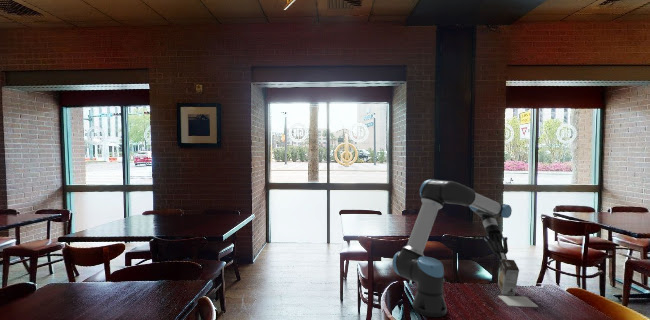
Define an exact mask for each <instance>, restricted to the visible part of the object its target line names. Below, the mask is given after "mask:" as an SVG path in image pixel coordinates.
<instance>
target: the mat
mask: <svg viewBox="0 0 650 320" xmlns="http://www.w3.org/2000/svg"><path fill="white" fill-rule="evenodd" d="M497 297H498V298H499V299H500V300H501V301H502V302H503V303H505V304H506V306H508V307H519V308H521V307H523V308H525V307H526V308H539V306H538V305H537V304H536V303H535V302H533V301H532V300H531V299H530V298H528V297H527V296H524V295H523V296H521V295H520V296H518V295H515V296H511V295H497Z"/></svg>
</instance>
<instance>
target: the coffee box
mask: <svg viewBox="0 0 650 320" xmlns="http://www.w3.org/2000/svg"><path fill="white" fill-rule="evenodd" d="M519 273H520V268H519V267H518V265H517V263H516V261H515V260H514V259H508V258H507V259H501V260H500V268H499V273H498V274H499V275H498V280H497V285H498V287H499V290H500V292H501V296H516V291H517V290H516V289H517V283H518V280H519V279H518V277H519Z"/></svg>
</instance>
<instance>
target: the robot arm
mask: <svg viewBox="0 0 650 320" xmlns="http://www.w3.org/2000/svg"><path fill="white" fill-rule="evenodd" d="M419 196H420V198H421V199H420V201H421V203H422V204H421V206H420V209H419V212H418V214H417V217H416V220H415V222H414V225H413V228H412V230H411V233H410V236H409V238H408V241H407V243H406V245H405V246H402V249H401V251H397V252H396V253H395V254H394V255H393V258H392V267H393V271H394V272H395V273H396V274H397V275H399V276H400V278H401V277H402V278H405V279H407V280H408V281H411V282H414V283H416V293H415V297H414V298H413V302H412V308H413V311H415V312H416V313H418V314H419V315H422V316H424V317H428V318H429V317H430V318H441V317H445V316H446V315H447V311H448V308H447V305H446V301H445V297H444V277H445V276H444V275H445V272H444V264H443V263H442V262H441V260H438V259H437V258H435V257H429V256H425V255H424V251H425V248H426V245H427V242H428V240H429V236H430V235H431V232H432V228H433V226H434V223H435V221H436V218H437V216H438V212H439V210H441V209H442V208H443V207H444V204H450V205H460V206H464V207H469V209H470V210H471V211H473V212H474V213H475V214H476V215H477V216H479V217H480V219H481V222H482V225H483V228H484V230H485V234H486V236H484V238H483V241H484V242H485V243H486V244H487V246H488V248H489V249H490V250H491V252H492V254H494V255H495V256H497V258H498V260H499V261H501V259H508V257H507V254H508V252H509V248H508V247H509V246H508V239H509V238H508V237H507V236H503V234H502V233H501V230H500V226H499V224H498V222H497V219H496V217H498V218H503V219H509V218H510V217H511V215H512V211H513V210H512V209H513V208H512V206H511V205H510V204H506V203H501V202H498V201H495V200H493V199H491V198H489V197H487V196H484V195H483V194H479V193H477V192H475V189H473V188H471V187H468V186H466V185H464V184H461V183H460V182H456V181H453V180H441V179H427V180H424V181H423V182H422V184H421V185H420V188H419Z"/></svg>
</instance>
